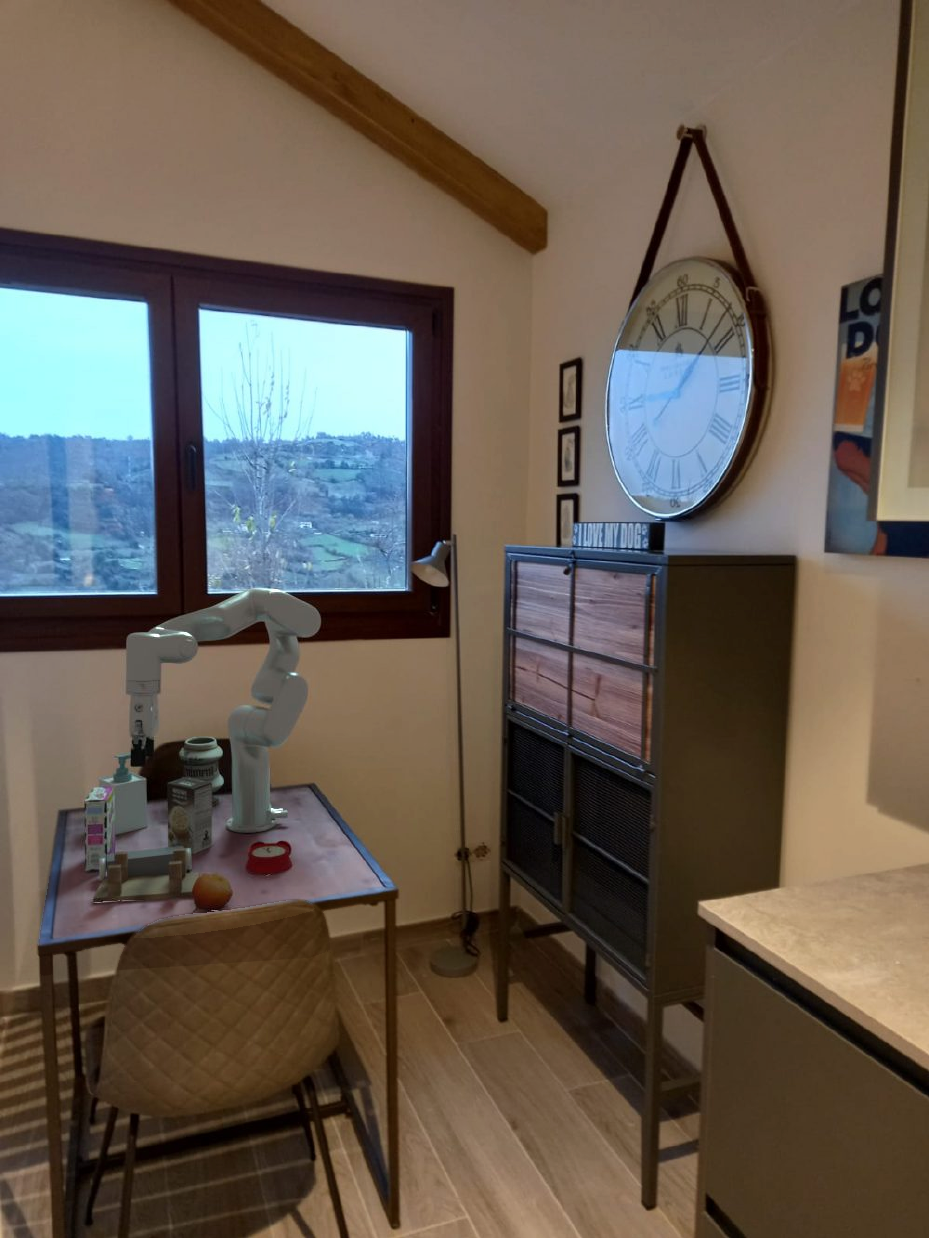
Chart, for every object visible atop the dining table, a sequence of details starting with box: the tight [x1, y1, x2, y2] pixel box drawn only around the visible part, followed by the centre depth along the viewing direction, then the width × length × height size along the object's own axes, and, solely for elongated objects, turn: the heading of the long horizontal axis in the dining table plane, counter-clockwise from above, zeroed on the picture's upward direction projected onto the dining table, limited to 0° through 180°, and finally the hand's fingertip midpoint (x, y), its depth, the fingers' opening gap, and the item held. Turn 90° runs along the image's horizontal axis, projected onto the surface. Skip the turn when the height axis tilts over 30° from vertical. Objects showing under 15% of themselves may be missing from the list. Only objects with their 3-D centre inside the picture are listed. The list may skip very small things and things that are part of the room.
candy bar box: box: [83, 786, 116, 873], centre depth 196 cm, size 11×5×16 cm, turn 13°
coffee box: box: [166, 776, 213, 855], centre depth 207 cm, size 9×6×16 cm
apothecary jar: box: [178, 736, 224, 807], centre depth 240 cm, size 12×12×18 cm
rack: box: [92, 848, 201, 903], centre depth 182 cm, size 20×10×7 cm, turn 102°
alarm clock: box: [245, 840, 293, 876], centre depth 198 cm, size 10×6×15 cm
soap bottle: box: [98, 752, 148, 836], centre depth 219 cm, size 9×9×19 cm
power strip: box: [98, 846, 193, 882], centre depth 190 cm, size 19×5×6 cm, turn 112°
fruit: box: [192, 872, 233, 913], centre depth 174 cm, size 8×8×8 cm
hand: (142, 761), depth 195 cm, fingers open, 9 cm apart
